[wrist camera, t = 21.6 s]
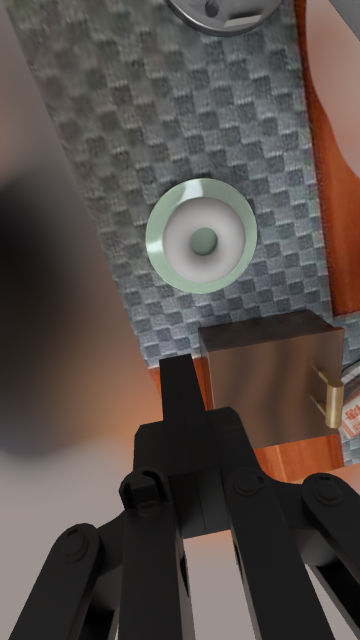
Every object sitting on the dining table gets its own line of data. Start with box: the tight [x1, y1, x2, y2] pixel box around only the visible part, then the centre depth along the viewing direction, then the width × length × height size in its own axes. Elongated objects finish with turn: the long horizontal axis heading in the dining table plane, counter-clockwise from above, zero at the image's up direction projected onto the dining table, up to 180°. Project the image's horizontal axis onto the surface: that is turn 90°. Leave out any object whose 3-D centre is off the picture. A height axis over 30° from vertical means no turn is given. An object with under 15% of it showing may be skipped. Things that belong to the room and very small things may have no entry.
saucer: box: [146, 178, 257, 294], centre depth 41 cm, size 14×14×1 cm
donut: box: [163, 197, 246, 283], centre depth 39 cm, size 10×3×10 cm
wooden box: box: [198, 310, 334, 410], centre depth 46 cm, size 16×16×7 cm
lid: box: [206, 327, 344, 449], centre depth 40 cm, size 17×16×5 cm
